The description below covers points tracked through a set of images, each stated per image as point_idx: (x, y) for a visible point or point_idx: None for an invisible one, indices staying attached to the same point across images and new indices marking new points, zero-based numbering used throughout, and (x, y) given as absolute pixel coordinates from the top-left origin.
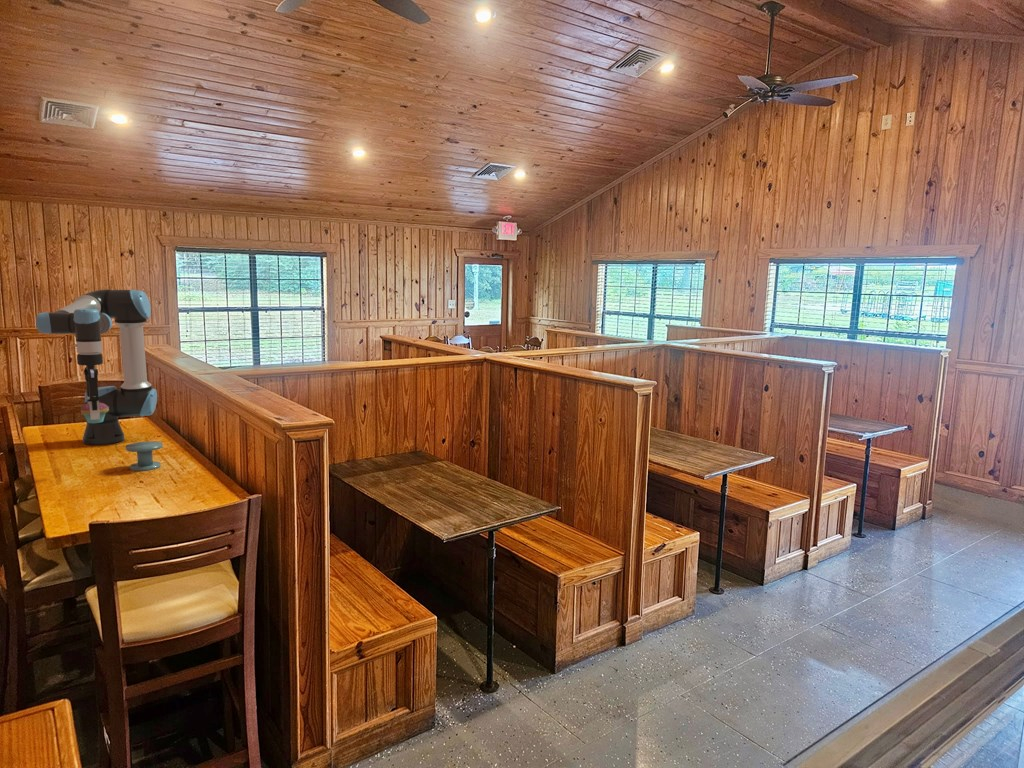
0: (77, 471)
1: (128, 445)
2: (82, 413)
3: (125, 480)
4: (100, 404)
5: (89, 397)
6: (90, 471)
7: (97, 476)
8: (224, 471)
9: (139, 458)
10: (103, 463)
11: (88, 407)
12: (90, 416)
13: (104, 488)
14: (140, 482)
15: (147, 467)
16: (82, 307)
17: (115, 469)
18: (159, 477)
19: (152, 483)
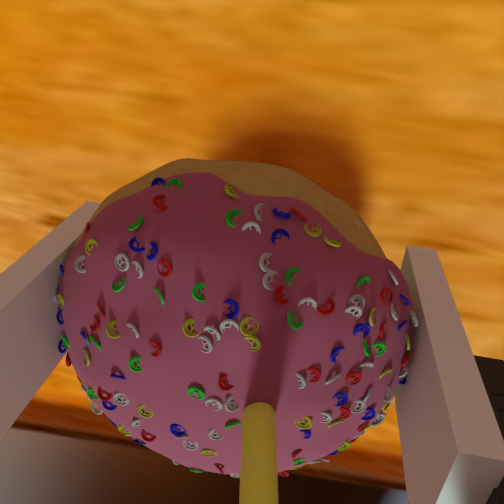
0: (420, 16)
1: None
2: (167, 164)
3: (105, 178)
4: (123, 428)
5: (444, 470)
6: (368, 80)
7: (240, 91)
8: (78, 434)
9: None
10: (500, 169)
11: (86, 277)
12: (78, 219)
13: (12, 79)
14: (50, 216)
15: None
16: None
17: (325, 188)
18: None
19: (19, 244)
